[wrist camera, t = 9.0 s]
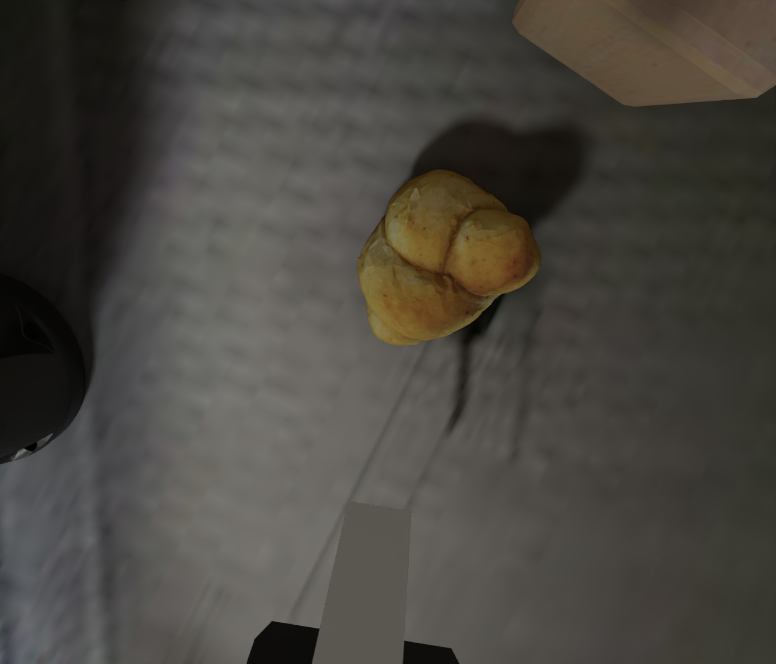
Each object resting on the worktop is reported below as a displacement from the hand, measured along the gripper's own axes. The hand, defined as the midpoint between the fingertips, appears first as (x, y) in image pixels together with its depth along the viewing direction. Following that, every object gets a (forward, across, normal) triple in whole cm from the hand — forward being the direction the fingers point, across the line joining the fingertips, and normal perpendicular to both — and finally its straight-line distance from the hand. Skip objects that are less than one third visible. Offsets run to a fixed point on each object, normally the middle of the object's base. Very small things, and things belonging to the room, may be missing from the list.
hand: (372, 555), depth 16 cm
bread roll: (+34, +1, +1) cm, 34 cm away
